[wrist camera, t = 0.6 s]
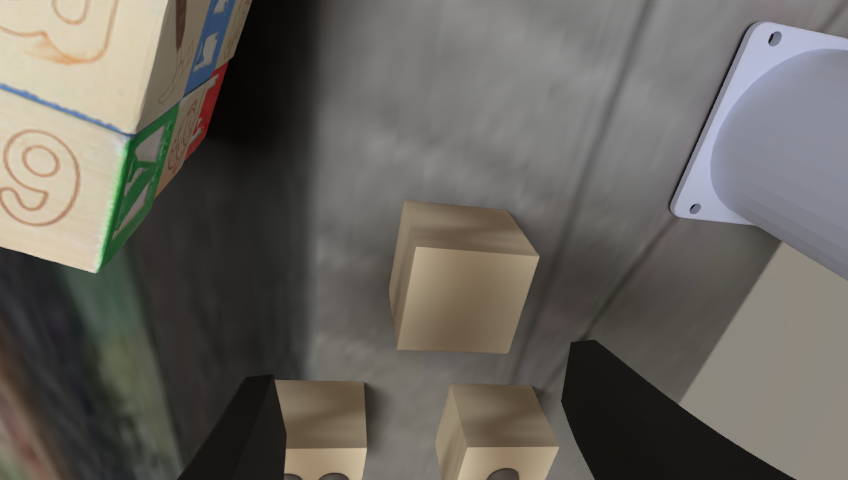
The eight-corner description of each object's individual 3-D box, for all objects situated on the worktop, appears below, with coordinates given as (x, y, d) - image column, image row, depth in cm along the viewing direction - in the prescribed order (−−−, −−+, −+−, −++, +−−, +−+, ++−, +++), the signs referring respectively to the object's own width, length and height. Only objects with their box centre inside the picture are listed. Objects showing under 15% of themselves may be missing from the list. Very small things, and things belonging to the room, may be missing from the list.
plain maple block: (506, 209, 21) (539, 256, 17) (483, 295, 23) (507, 353, 19) (403, 198, 20) (415, 246, 16) (388, 289, 22) (396, 349, 18)
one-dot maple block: (530, 383, 26) (560, 449, 22) (509, 441, 28) (534, 509, 24) (450, 382, 25) (468, 450, 21) (434, 441, 27) (448, 512, 23)
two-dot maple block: (363, 380, 24) (367, 450, 20) (354, 441, 26) (356, 515, 22) (270, 378, 23) (256, 451, 20) (268, 442, 25) (255, 519, 22)
